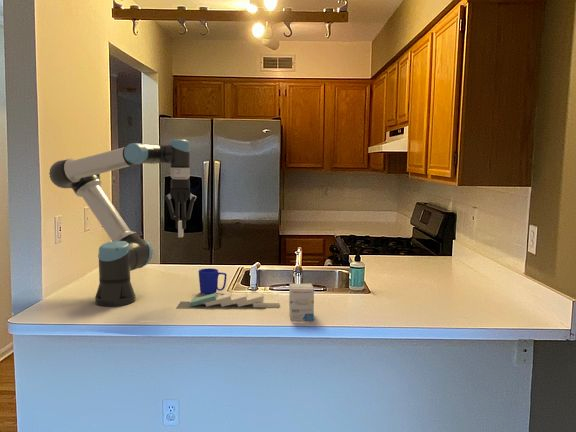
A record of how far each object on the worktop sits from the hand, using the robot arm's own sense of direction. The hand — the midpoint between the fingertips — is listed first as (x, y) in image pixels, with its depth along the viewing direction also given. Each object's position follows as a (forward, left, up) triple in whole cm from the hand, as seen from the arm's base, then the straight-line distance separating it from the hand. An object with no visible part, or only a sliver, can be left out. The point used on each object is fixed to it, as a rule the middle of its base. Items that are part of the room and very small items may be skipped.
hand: (180, 236), depth 209 cm
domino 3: (+24, -12, -24) cm, 36 cm away
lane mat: (+18, -12, -25) cm, 33 cm away
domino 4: (+30, -12, -24) cm, 40 cm away
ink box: (+48, -26, -26) cm, 60 cm away
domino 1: (+12, -12, -24) cm, 29 cm away
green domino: (+6, -12, -24) cm, 28 cm away
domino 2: (+18, -12, -24) cm, 32 cm away
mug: (+12, +7, -26) cm, 29 cm away
